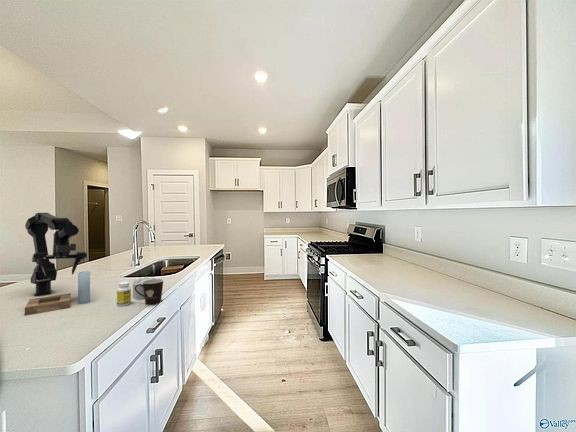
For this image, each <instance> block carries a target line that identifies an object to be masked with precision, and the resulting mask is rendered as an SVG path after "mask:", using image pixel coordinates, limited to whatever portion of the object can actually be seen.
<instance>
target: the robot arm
mask: <svg viewBox="0 0 576 432" xmlns="http://www.w3.org/2000/svg"><path fill="white" fill-rule="evenodd" d="M24 227H25V229H26V230H27V234H29V235H30V236H31V237H32V241H33V246H34V253H33V255H32V257H31V262H32V263H35V264H36V265H35V267H34V268H33V272H32V274H31V277H30V279H29V280H30V283H31V284H33V285H35V293H33V296H34V297H36V296H37V297H38V296H43V295H45V296H46V295H50V294H52V293H53V289H52V282H53V281H56V279H57V276H58V271H57V269H56V265H55V263H54V262H51V261H50V260H61V259H63V260H67V259H69V260H70V259H71V260H72V259H73V262H72V269H71V275H74V273H75V271H76V269H77V267H78V265H79V263H82V262H83V261H85V260H86V259H87V256H88V254H87V252H85V251H81V252H80V251H79V252H78V251H77V244H76V243H70V239H72V238H74V237H75V236H77V235H78V233H79V231H80V230H79V228H78V226H77V225H74V224H73V222H72V221H71V220H70V219H69V218H68V217H59V216H55V215H53V214H51V213H49V212H36V213H35V214H34V215H33V216H31V217H29V218H28V219H27V220H26V222H25V225H24ZM49 230H52V231H54V230H55V231H54V233H53V236H52V237H53V242H52V243H53V244H52V254H49V252H48V246H47V244H48V243H47V239H46V234H47V233H48V231H49ZM71 251H76V253H75V254H74V253H73V254H71Z"/></svg>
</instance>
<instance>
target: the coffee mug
mask: <svg viewBox="0 0 576 432" xmlns="http://www.w3.org/2000/svg"><path fill="white" fill-rule="evenodd" d="M150 279H151V278H150ZM139 285H140V286H142V287H143V289H144V295H143V294H141V293H139V292H138V291H137V290H136V287H137V286H139ZM163 287H164V279H161V278H155V279H151V280H146V281H143V285H142V284H138V285H136V286H135V291H136V292H137V293H138V294H140V295H141V296H143V297H144V298H145V299H144V304H145V305H146V306H154V305H158V304H160V303H161V302H162V295H163Z"/></svg>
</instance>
